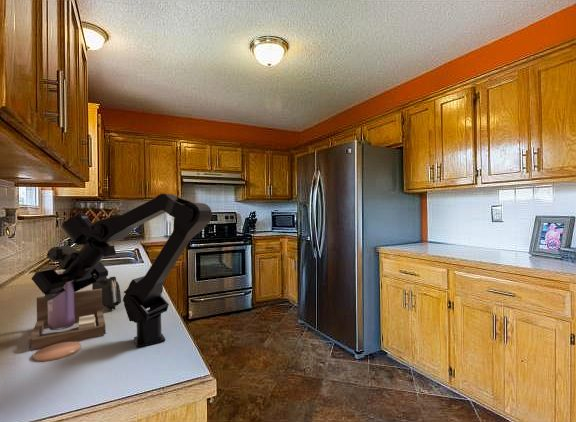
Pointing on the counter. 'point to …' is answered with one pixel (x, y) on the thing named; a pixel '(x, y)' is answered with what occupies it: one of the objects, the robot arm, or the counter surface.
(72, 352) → the peach round disc
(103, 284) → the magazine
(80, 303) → the walnut rack
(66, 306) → the beverage can
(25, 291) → the counter surface
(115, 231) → the robot arm
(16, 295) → the counter surface
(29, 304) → the counter surface
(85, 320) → the offcut stack
